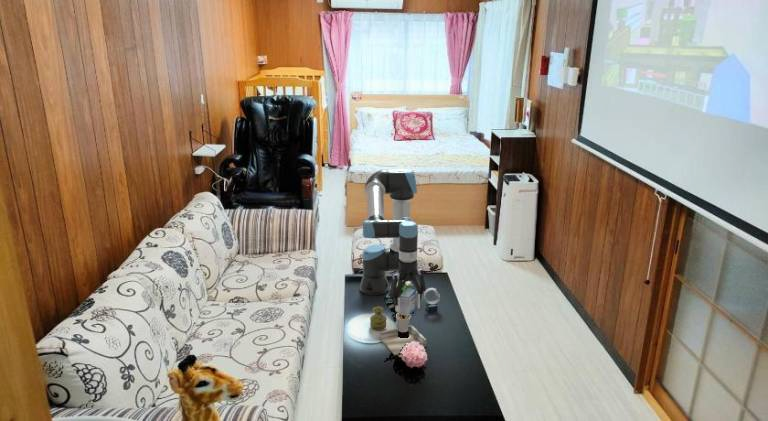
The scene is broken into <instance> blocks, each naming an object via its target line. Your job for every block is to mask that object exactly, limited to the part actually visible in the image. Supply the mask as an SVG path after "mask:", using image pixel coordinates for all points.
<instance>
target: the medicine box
mask: <svg viewBox="0 0 768 421" xmlns="http://www.w3.org/2000/svg"><path fill="white" fill-rule="evenodd" d="M416 292H417V290H416V289H412V288H406V289H404V291H403V292H402V293H400V295H399V298H400V313H399V315H401V316H405V317H407V316H408V317H410V316H411V314H412V313H413V312H414V311H415V309H417V307H416Z"/></svg>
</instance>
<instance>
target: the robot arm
mask: <svg viewBox="0 0 768 421" xmlns="http://www.w3.org/2000/svg"><path fill="white" fill-rule="evenodd" d="M416 180H417V179H416V175H415V171H414V170H412V169H380V170H378V171H376V172H374V173H373V174H371V175H370V176H369V177H368V179H367V180H366V182H365V185H364V194H365V195H366V212H367V213H366V220H363V221H362V237H363V238H364V239H372V240H373V239H392V243H390V244H389V248H387V247H386V246H385V245H383V244H372V245H369V246H367V247H365V248H364V249H363V251H362V258H361V259H362V278H361V281H360V284H359V290H360V292H361V293H362V294H364V295H367V296H382V295H383V294H387V293H388V292H389V295H388V296H389V297H390V298H391V299H393V305H394V308H395V309H394V310H395V312H396V313H397V314H400V295H401V294H402V293H401V292H402V291H403V288H404V286H405V285H406V283H408V282H412V284H413V285H414V288H415V290H416V309H417V310H418V309H420V308H421V301H422V298H423V296H422V295H424V292H425V291H426V290H427V288H426V283H425V278H424V277H425V276H424V274H425V271H424V269H422V268H418V241H419V239H418V238H419V237H418V234H419V225H418V224H417V222H415V221H414V220H413V219H412V218H411V203H412V202H411V201H412V200H413V199H414V195H417V193H418V189H417V187H418V186H417V181H416ZM384 195H389V198H390V199H391V200H392V219H386V218H385V203H384V200H385V199H384ZM386 272H397V273H392V275H391V278H392V279H391V284H389V281H388V279H387V275H386ZM416 276H417V277H418V280H417V277H416ZM418 281H419V282H418ZM390 285H391V286H390ZM387 291H388V292H387Z"/></svg>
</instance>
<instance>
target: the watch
mask: <svg viewBox="0 0 768 421" xmlns="http://www.w3.org/2000/svg"><path fill="white" fill-rule="evenodd" d="M431 291H433V292H434V294H435V296H436V298H437V299H435V300H428V299H427V296H426V295H427V293H428V292H431ZM423 298H424V300H425V308H426V310H427V313H429V314H430V313H438V303H439V302H440V300H441V295H440V293H439V292H438V290H437V288H436V287H435V288H434V287H427V288H426V291H423Z"/></svg>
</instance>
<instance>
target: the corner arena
mask: <svg viewBox="0 0 768 421" xmlns="http://www.w3.org/2000/svg"><path fill="white" fill-rule="evenodd" d="M398 328H399V327H395V328H392V329H388V330H387V329H386V330H381V331H380V333H379V334H380V335H379V336H380V337H379V338H380V341H381V342H382V343H383V345H385V346H386V348H387V349H388V350H389V351H390V352H391V353H392V354H393V355H394V356H398V355H400V354H399V353H400V350H401V349H402V347H403V346H404V345H405V344H406V343H407V342H410V341H418V342H420V343H421V344H422V345H423V346H425V348H427V347H428V346H427V344H428V343H427V341H428V339H427V338H426V337H425V336H424V335H423V334H421V333H420V331H418V330H417V328H416V327H414V325H412V324H408V330H409V337H408V338H400V337H398Z"/></svg>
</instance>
